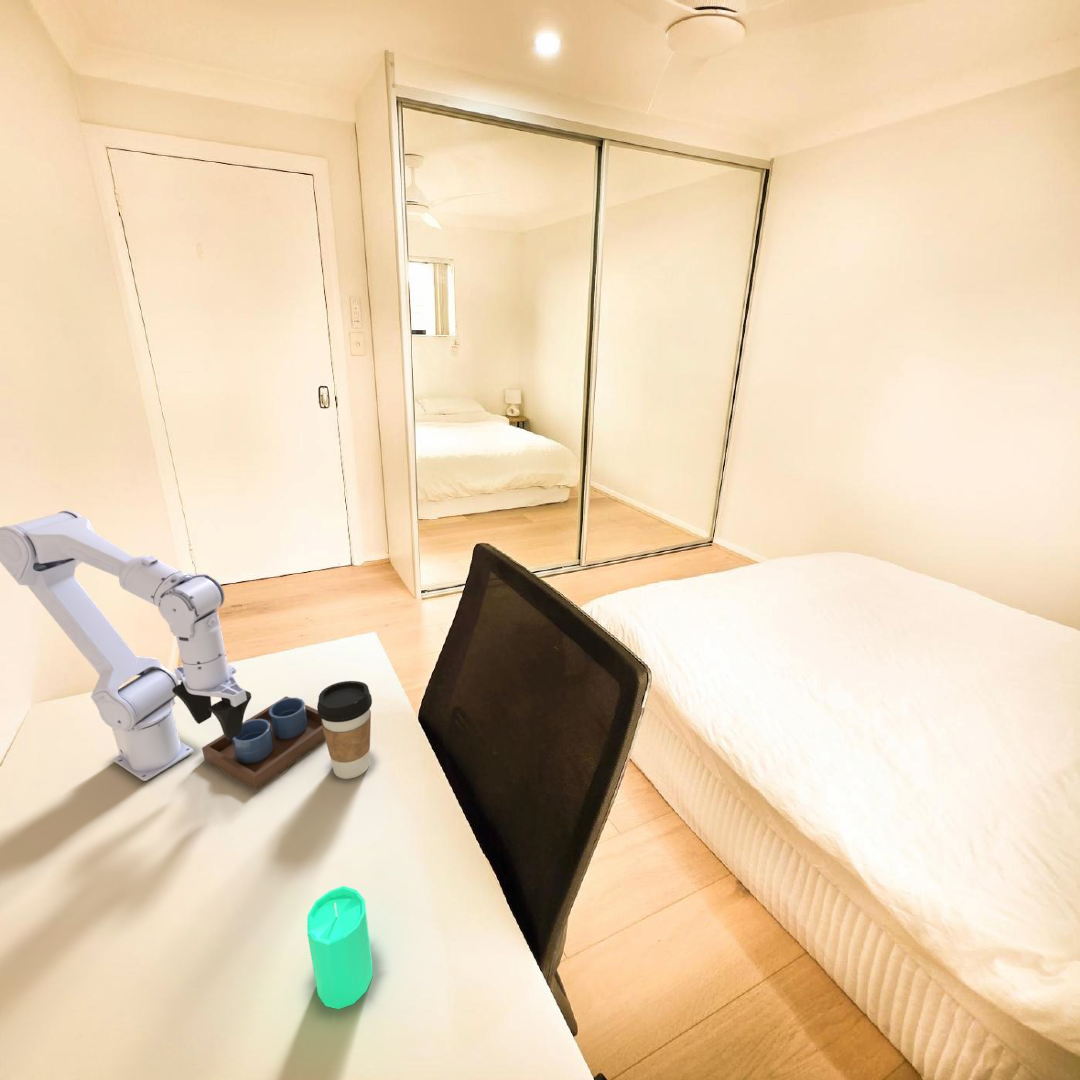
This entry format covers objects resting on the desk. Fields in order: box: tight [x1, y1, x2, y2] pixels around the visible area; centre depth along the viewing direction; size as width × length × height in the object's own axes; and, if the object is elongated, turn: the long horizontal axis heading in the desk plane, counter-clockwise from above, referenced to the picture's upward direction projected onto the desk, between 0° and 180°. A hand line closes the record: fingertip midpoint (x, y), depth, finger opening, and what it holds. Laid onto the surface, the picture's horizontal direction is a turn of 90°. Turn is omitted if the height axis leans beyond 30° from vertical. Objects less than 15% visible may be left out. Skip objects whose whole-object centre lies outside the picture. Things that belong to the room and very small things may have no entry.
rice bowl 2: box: [269, 697, 307, 739], centre depth 97 cm, size 6×6×5 cm
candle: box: [306, 885, 374, 1010], centre depth 58 cm, size 6×6×12 cm
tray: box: [201, 695, 326, 791], centre depth 94 cm, size 14×17×3 cm
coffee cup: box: [316, 680, 373, 780], centre depth 88 cm, size 8×8×15 cm
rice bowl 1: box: [232, 719, 274, 764], centre depth 91 cm, size 6×6×5 cm
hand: (218, 727), depth 85 cm, fingers open, 7 cm apart
